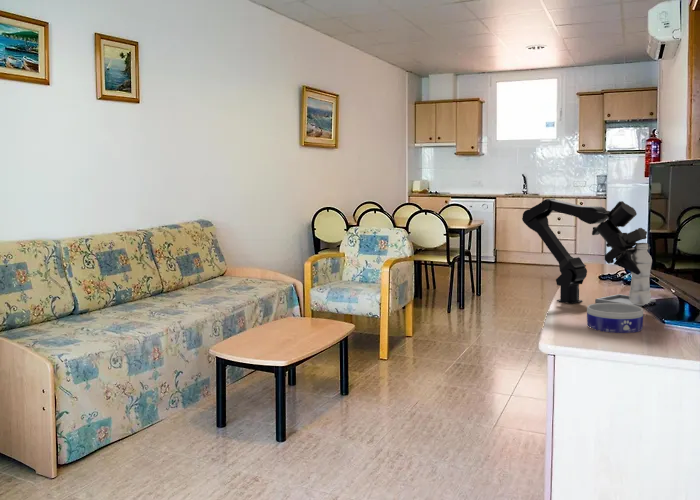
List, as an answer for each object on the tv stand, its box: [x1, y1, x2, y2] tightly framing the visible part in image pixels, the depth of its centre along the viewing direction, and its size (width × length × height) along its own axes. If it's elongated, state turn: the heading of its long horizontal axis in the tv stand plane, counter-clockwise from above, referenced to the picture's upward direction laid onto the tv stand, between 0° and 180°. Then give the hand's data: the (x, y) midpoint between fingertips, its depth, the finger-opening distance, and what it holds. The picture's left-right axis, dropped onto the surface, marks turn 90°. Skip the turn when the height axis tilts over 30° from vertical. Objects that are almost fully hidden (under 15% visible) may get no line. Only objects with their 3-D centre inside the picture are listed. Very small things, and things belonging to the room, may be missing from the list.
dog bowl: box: [586, 303, 644, 334], centre depth 180 cm, size 15×15×6 cm
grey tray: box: [594, 293, 657, 308], centre depth 213 cm, size 14×14×2 cm
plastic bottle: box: [628, 242, 653, 305], centre depth 197 cm, size 6×7×20 cm
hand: (644, 272), depth 195 cm, fingers closed on plastic bottle, 6 cm apart
